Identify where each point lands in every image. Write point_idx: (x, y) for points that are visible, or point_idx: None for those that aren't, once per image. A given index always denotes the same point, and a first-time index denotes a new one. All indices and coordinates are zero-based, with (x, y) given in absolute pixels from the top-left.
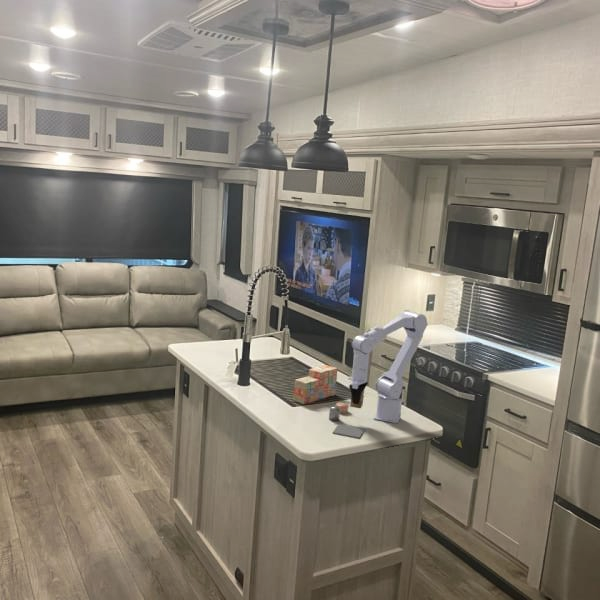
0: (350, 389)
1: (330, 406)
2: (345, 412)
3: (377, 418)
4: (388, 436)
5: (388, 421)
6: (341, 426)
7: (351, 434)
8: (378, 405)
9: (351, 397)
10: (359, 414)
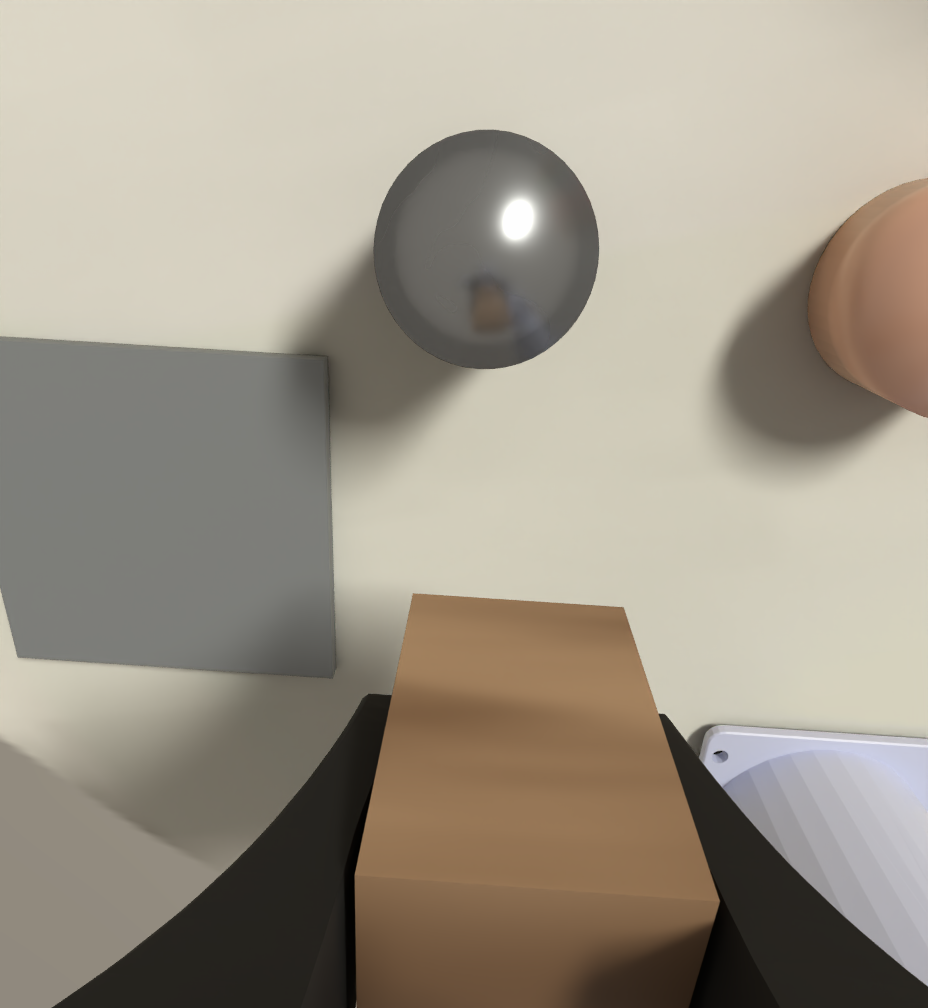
0: (86, 990)
1: (495, 137)
2: (834, 369)
3: (709, 768)
4: None
5: None
6: (214, 413)
7: (33, 568)
8: (827, 900)
9: (385, 736)
10: (845, 554)
